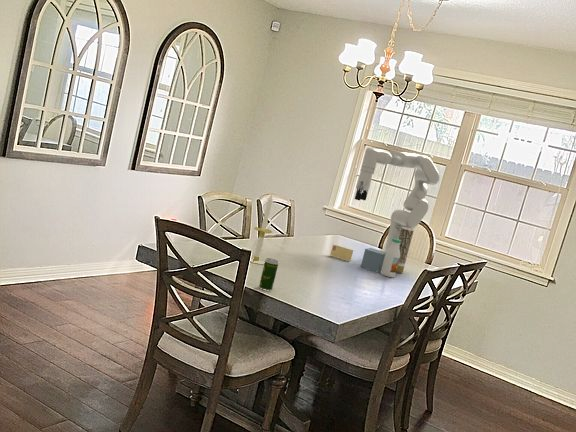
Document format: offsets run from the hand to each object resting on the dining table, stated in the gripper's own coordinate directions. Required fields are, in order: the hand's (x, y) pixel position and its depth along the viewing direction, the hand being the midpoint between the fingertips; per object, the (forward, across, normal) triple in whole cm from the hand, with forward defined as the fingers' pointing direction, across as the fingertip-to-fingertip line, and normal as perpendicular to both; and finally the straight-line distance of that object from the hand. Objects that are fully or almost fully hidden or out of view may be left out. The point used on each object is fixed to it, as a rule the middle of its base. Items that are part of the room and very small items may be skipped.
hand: (360, 199), depth 381 cm
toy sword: (+34, +85, -14) cm, 92 cm away
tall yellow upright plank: (+33, +12, +1) cm, 35 cm away
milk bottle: (+34, +17, +31) cm, 49 cm away
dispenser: (+33, +12, +20) cm, 41 cm away
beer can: (+34, +125, +12) cm, 130 cm away
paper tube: (+34, -2, +30) cm, 45 cm away
